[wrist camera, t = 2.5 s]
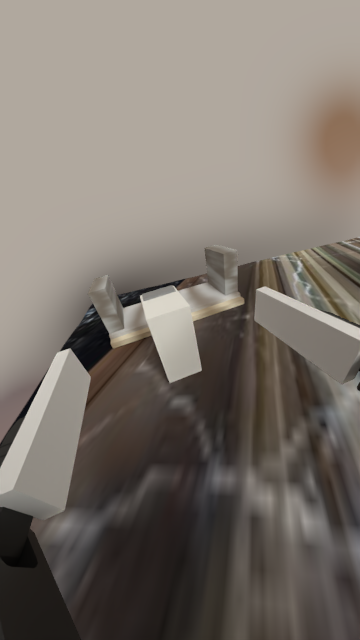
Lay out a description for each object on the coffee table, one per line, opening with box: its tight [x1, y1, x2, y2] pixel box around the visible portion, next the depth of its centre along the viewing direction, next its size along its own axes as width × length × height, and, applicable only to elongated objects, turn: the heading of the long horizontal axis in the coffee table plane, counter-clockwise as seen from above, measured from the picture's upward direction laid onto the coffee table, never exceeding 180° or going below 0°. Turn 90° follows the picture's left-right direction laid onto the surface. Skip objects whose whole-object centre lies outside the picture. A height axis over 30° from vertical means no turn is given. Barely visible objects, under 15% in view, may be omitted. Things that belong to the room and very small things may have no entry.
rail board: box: [88, 245, 244, 349], centre depth 38 cm, size 29×14×11 cm, turn 107°
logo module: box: [140, 285, 202, 383], centre depth 24 cm, size 5×7×11 cm
